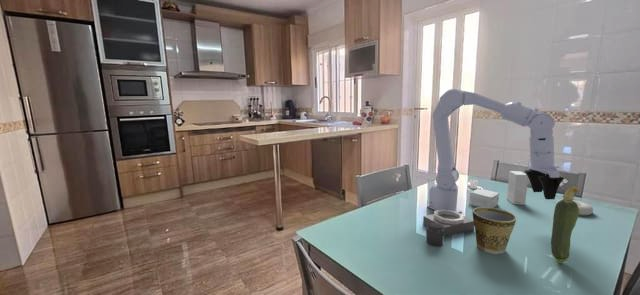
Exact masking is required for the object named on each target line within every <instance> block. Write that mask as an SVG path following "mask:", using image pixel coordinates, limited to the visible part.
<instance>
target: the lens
mask: <svg viewBox="0 0 640 295" xmlns="http://www.w3.org/2000/svg"><path fill="white" fill-rule="evenodd" d="M443 235H444V227H443V226H442V225H440V224H437V223H429V224H427V227H426V243H427V244H428V245H430V246H432V247H437V248H438V247H442V246H443V245H444V237H443Z"/></svg>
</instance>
